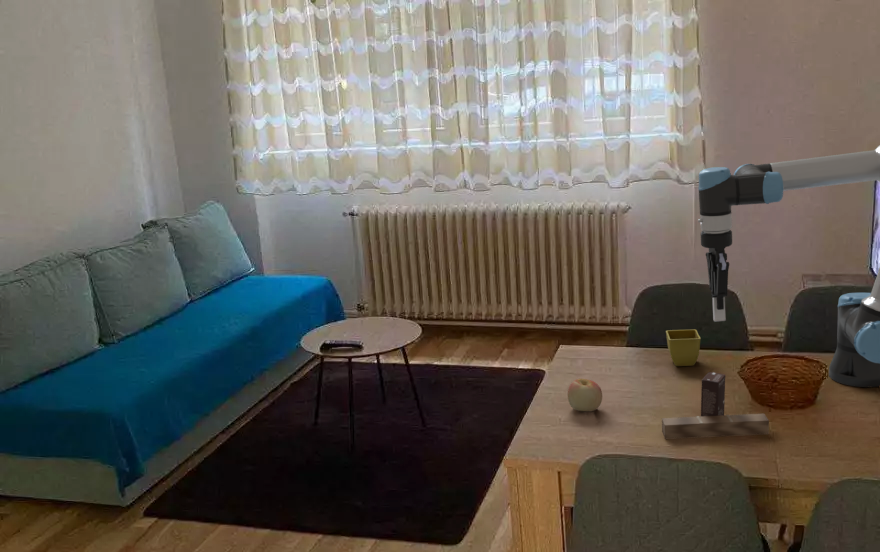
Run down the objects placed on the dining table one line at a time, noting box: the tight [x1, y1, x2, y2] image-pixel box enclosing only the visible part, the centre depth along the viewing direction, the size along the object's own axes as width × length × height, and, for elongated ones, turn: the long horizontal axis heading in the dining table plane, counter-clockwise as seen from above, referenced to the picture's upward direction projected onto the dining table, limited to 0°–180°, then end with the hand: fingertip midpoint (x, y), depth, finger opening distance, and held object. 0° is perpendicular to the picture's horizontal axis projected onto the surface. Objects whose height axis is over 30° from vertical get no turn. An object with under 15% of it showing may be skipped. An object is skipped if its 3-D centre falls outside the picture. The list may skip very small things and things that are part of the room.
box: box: [700, 371, 726, 416], centre depth 210 cm, size 6×4×12 cm
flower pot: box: [665, 329, 702, 367], centre depth 250 cm, size 9×9×9 cm
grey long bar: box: [661, 413, 770, 440], centre depth 206 cm, size 24×4×4 cm, turn 86°
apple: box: [567, 378, 603, 412], centre depth 224 cm, size 9×9×8 cm
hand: (719, 320), depth 221 cm, fingers closed
